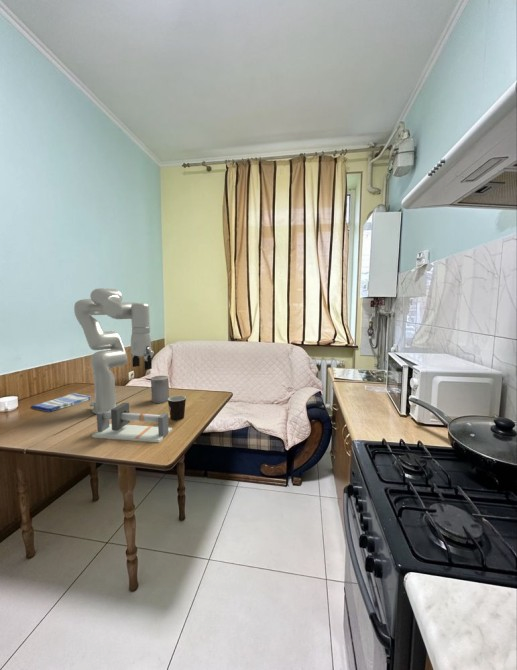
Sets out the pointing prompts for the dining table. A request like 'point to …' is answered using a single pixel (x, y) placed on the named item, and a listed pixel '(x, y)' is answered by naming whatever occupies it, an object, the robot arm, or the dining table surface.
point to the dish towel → (62, 402)
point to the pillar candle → (160, 389)
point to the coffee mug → (177, 407)
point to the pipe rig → (133, 427)
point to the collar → (116, 417)
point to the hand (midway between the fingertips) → (142, 367)
